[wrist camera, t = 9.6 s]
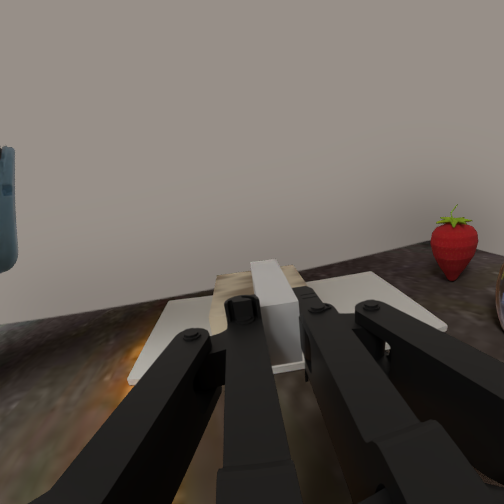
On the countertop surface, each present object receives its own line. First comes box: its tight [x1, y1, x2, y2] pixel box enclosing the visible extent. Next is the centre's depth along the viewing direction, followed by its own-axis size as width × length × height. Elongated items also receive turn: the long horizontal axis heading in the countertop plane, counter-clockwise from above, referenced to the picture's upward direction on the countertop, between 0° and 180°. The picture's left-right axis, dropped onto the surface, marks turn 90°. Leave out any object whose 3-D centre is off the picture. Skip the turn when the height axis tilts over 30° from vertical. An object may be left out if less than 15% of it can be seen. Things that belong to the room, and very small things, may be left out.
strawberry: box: [430, 205, 478, 281], centre depth 31 cm, size 6×8×10 cm
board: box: [209, 265, 308, 335], centre depth 33 cm, size 10×2×13 cm
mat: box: [127, 271, 448, 385], centre depth 30 cm, size 28×18×1 cm, turn 93°
